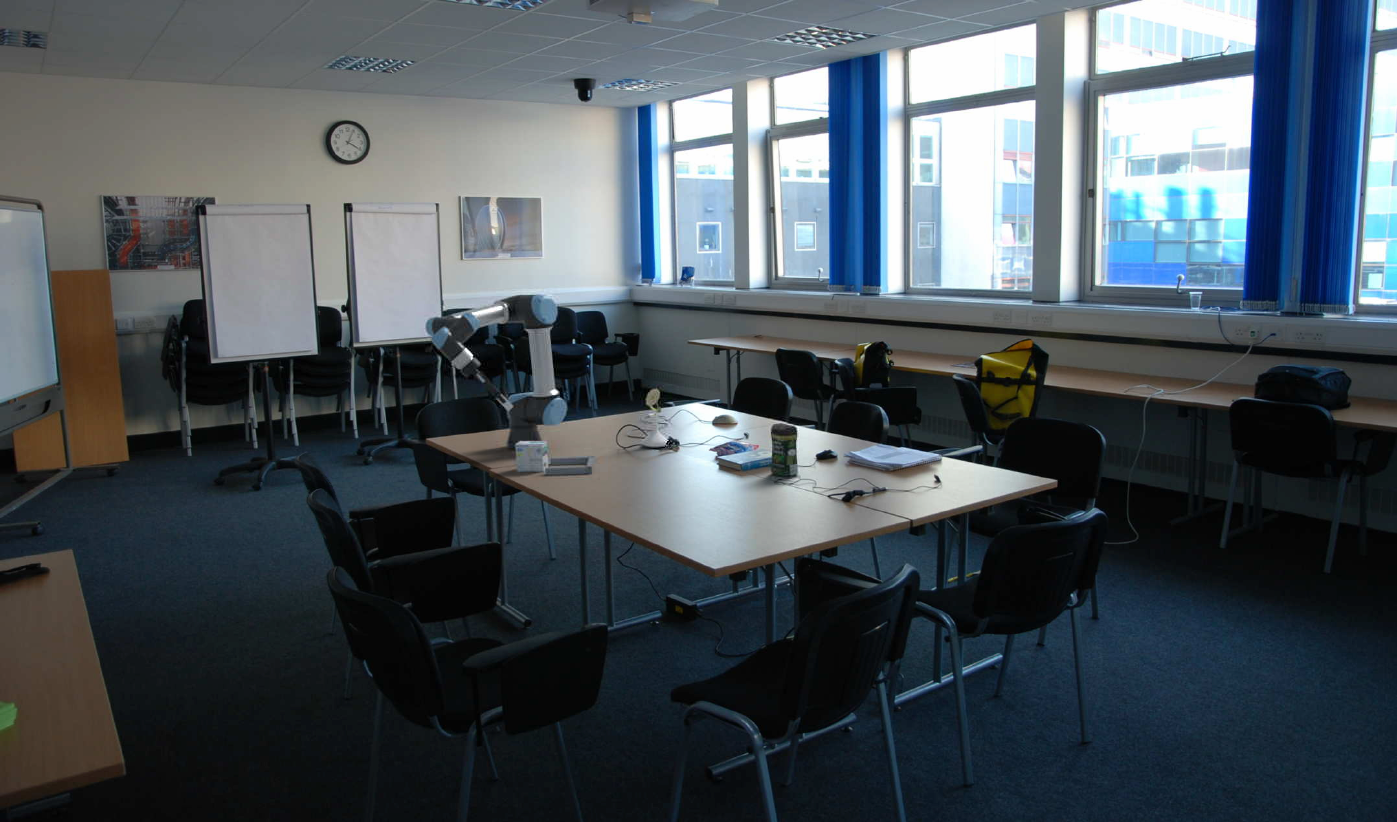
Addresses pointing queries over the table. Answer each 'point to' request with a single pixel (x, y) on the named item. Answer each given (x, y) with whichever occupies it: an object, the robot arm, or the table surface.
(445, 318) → the robot arm
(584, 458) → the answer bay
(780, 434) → the coffee jar
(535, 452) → the light bulb box
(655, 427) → the flower in vase
